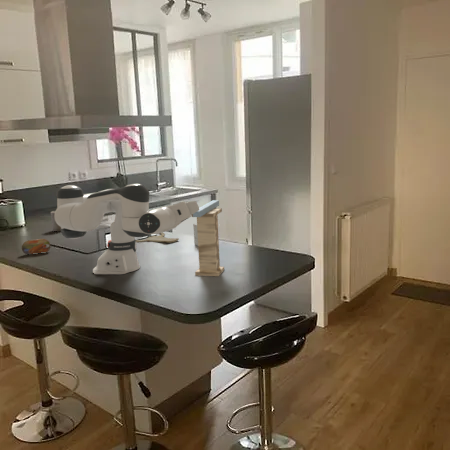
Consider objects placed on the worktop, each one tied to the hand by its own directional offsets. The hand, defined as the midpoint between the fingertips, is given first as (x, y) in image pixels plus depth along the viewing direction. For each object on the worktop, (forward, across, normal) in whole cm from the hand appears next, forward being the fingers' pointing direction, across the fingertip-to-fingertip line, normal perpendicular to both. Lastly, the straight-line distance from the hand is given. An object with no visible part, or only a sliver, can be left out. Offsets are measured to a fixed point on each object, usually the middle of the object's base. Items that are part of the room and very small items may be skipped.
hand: (181, 214), depth 184 cm
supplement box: (+78, -28, -16) cm, 85 cm away
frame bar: (+27, +1, -2) cm, 27 cm away
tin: (+47, -110, +18) cm, 121 cm away
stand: (+29, -11, -28) cm, 42 cm away
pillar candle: (+105, -132, +33) cm, 172 cm away
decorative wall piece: (+88, -58, -3) cm, 105 cm away
